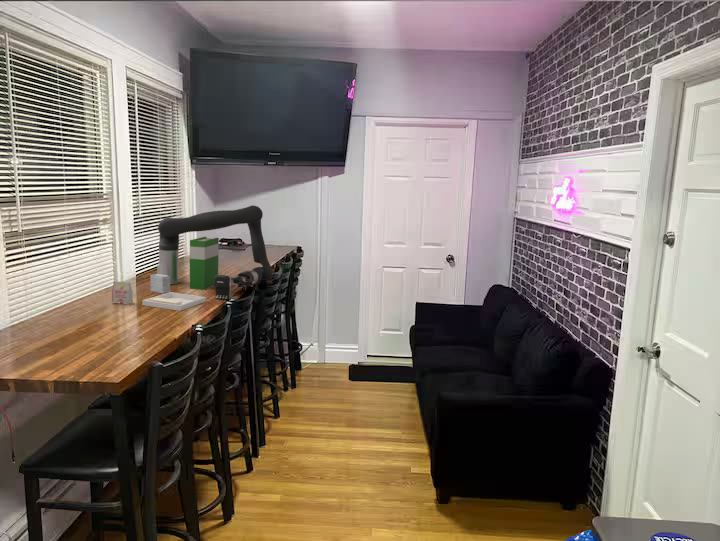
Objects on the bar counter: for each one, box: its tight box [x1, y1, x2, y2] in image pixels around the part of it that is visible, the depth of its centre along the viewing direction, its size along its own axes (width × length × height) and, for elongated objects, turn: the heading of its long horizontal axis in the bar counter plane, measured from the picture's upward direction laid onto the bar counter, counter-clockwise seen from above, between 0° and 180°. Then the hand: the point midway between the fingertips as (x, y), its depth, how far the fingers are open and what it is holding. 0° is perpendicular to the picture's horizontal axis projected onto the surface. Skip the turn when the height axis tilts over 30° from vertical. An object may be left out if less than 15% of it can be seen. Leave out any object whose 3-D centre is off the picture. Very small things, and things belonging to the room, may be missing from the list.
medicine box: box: [149, 273, 171, 294], centre depth 228 cm, size 8×4×9 cm, turn 65°
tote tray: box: [142, 291, 207, 312], centre depth 209 cm, size 18×18×3 cm
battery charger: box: [213, 273, 232, 301], centre depth 223 cm, size 7×4×11 cm, turn 81°
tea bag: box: [111, 281, 134, 305], centre depth 203 cm, size 4×7×10 cm, turn 87°
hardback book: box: [189, 236, 220, 291], centre depth 248 cm, size 18×7×24 cm, turn 174°
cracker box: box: [151, 298, 182, 305], centre depth 203 cm, size 12×4×2 cm, turn 74°
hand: (230, 283), depth 230 cm, fingers open, 8 cm apart
